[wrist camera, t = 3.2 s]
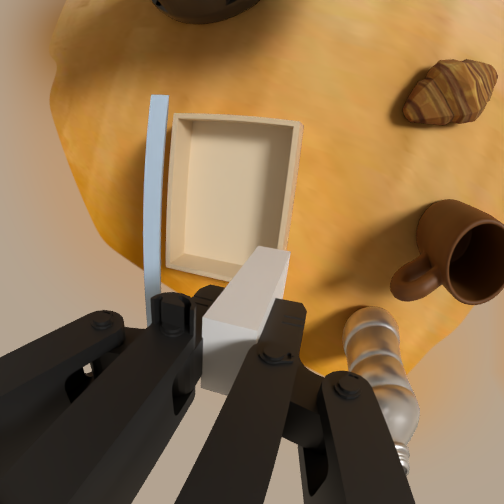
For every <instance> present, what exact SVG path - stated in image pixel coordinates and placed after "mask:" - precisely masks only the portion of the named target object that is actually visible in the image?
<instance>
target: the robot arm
mask: <svg viewBox="0 0 504 504" xmlns="http://www.w3.org/2000/svg"><path fill="white" fill-rule="evenodd" d="M258 1H260V0H152V2H153V3H154V5H155V6H156V7H157V8H158V9H159V10H160V11H162V12H163V13H165V14H166V15H168V16H169V17H171V18H172V19H174V20H177V21H180V22H183V23H189V24H205V23H212V22H217V21H221V20H224V19H227V18H230V17H233V16H235V15H237V14H239V13H242V12H243V11H245V10H247V9H249V8H250V7H252V6H253V5H255V4H256V3H257V2H258ZM290 253H291V252H290V251H284V250H279V249H274V248H269V247H263V246H258V247H257V248H256V249H255V251H254V252H253V253H252V254H251V256H250V257H249V258H248V260H247V261H246V262H245V263H244V265H243V266H242V267H241V269H240V270H239V271H238V272H237V274H236V275H235V276H234V277H233V279H232V280H231V281H230V283H229V284H228V285H227V286H226V288H223V287H219V286H215V285H208V286H206V287H203V288H201V289H199V290H198V291H197V293H196V294H195V295H194V297H192V298H191V297H190V296H187V295H185V294H182V293H175V292H167V293H161V294H157V295H155V296H153V297H151V298H150V301H151V319H152V323H151V324H150V325H149V326H148V327H147V328H146V329H138V328H129V327H124V321H123V317H122V316H121V315H120V314H118V313H116V312H113V311H107V310H102V311H95V312H92V313H90V314H87V315H85V316H83V317H81V318H79V319H77V320H75V321H73V322H71V323H69V324H67V325H65V326H63V327H61V328H59V329H57V330H55V331H53V332H51V333H49V334H46V335H44V336H42V337H41V338H38V339H36V340H34V341H32V342H30V343H28V344H26V345H24V346H22V347H20V348H18V349H16V350H14V351H12V352H10V353H8V354H6V355H4V356H2V357H0V504H131V503H132V501H133V500H134V498H135V497H136V495H137V493H138V492H139V490H140V488H141V487H142V485H143V484H144V482H145V480H146V479H147V477H148V475H149V474H150V472H151V470H152V469H153V467H154V466H155V464H156V462H157V461H158V459H159V457H160V455H161V454H162V452H163V451H164V449H165V447H166V446H167V444H168V442H169V441H170V439H171V437H172V435H173V434H174V432H175V430H176V429H177V427H178V425H179V424H180V422H181V420H182V418H183V417H184V415H185V413H186V412H187V410H188V408H189V407H190V405H191V403H192V401H193V400H194V397H195V385H196V384H197V382H198V380H199V379H200V377H201V388H203V389H207V390H210V391H213V392H217V393H221V394H224V395H227V398H226V400H225V403H224V405H223V407H222V409H221V411H220V413H219V415H218V417H217V419H216V421H215V424H214V426H213V428H212V430H211V432H210V434H209V436H208V438H207V440H206V442H205V444H204V446H203V448H202V450H201V452H200V454H199V456H198V458H197V460H196V462H195V464H194V466H193V468H192V470H191V472H190V474H189V476H188V478H187V480H186V482H185V484H184V486H183V488H182V490H181V491H180V494H179V496H178V497H177V499H176V501H175V503H174V504H263V502H264V499H265V496H266V492H267V489H268V485H269V482H270V479H271V475H272V471H273V468H274V464H275V460H276V456H277V453H278V449H279V445H280V441H281V437H283V438H285V439H287V440H289V441H291V442H294V443H296V444H298V453H299V462H300V471H301V480H302V489H303V499H304V504H415V501H414V498H413V495H412V492H411V489H410V486H409V483H408V480H407V477H406V474H405V472H404V469H403V466H402V463H401V460H400V458H399V455H398V452H397V449H396V447H395V444H394V441H393V439H392V436H391V434H390V431H389V428H388V426H387V423H386V421H385V418H384V415H383V413H382V410H381V408H380V405H379V403H378V401H377V398H376V396H375V393H374V391H373V388H372V386H371V385H370V384H369V382H368V381H367V380H366V379H365V378H363V377H362V376H360V375H358V374H356V373H353V372H348V371H336V372H332V373H330V374H328V375H326V376H325V378H324V377H322V376H319V375H317V374H315V373H313V372H311V371H310V370H308V369H307V368H306V367H305V366H304V365H303V364H302V362H301V360H300V358H299V351H300V346H301V341H302V335H303V330H304V324H305V319H306V313H307V311H306V309H305V307H304V305H303V304H302V303H298V302H293V301H288V300H283V293H284V288H285V282H286V276H287V271H288V265H289V259H290ZM88 363H90V365H91V368H92V372H90V373H87V374H86V373H84V370H83V367H84V366H85V365H87V364H88Z"/></svg>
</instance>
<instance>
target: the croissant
mask: <svg viewBox="0 0 504 504" xmlns="http://www.w3.org/2000/svg"><path fill="white" fill-rule="evenodd" d="M497 78H498V75H497V72H496V70H495V69H494V68H493V66H491V65H489V64H486V63H482V62H477V61H472V60H467V59H466V60H464V61H458V60H440V61H439V62H438V63H437V64H435V65H434V66H433V67H432V68H431V69H430V70H429V72H428V74H427V76H426V78H425V79H423V80H421V81H419V82H418V83H417V84H416V86H415V88H414V89H413V91H412V92H411V94H410V95H409V97H408V99H407V101H406V103H405V105H404V107H403V109H402V111H403V113H404V116H405V117H406V118H407V120H408V121H409V122H414V123H425V124H438V125H445V124H447V123H449V122H454V123H459V124H462V123H467V122H472V121H475V120H476V119H477V118H478V117H479V116H480V114H481V113H482V112H483V110H484V108H485V106H486V104H487V102H488V101H489V100H490V98H491V95H492V92H493V88H494V86H495V84H496V82H497Z"/></svg>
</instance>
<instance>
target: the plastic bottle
mask: <svg viewBox="0 0 504 504" xmlns="http://www.w3.org/2000/svg"><path fill="white" fill-rule="evenodd" d="M342 343H343V348H344V351H345V355H346V357H347V363H348V370H349V372H353V373H356V374H358V375H360V376H362V377H363V378H365V379H366V380H367V381H368V382H369V384H370V385H371V386H372V388H373V391H374V393H375V396H376V398H377V401H378V403H379V405H380V408H381V410H382V413H383V415H384V418H385V421H386V423H387V426H388V428H389V431H390V434H391V436H392V439H393V441H394V444H395V447H396V449H397V452H398V455H399V458H400V460H401V463H402V466H403V469H404V472H405V474H406V476H407V475H408V473H409V448H408V447H407V446H406V445H407V444H408V442H409V441H410V439H411V437H412V436H413V434H414V432H415V430H416V428H417V425H418V421H419V414H420V408H419V405H418V402H417V399H416V396H415V395H414V392H413V390H412V388H411V386H410V383H409V381H408V379H407V376H406V373H405V370H404V368H403V364H402V361H401V355H400V347H399V343H400V336H399V328H398V325H397V323H396V321H395V320H394V318H393V317H392V315H391V314H390V313H389V312H388V311H386V310H385V309H383V308H380V307H373V306H372V307H365V308H362V309H360V310H358V311H356V312H355V313H353V314H352V315H351V316H350V317H349V318H348V320H347V322H346V324H345V326H344V330H343V335H342Z"/></svg>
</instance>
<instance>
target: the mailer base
mask: <svg viewBox="0 0 504 504" xmlns="http://www.w3.org/2000/svg"><path fill="white" fill-rule="evenodd" d="M303 129H304V126H303V124H302V123H301V122H299V121H292V120H283V119H274V118H264V117H253V116H240V115H223V114H195V113H174V116H173V126H172V137H171V148H170V161H169V176H168V194H167V220H166V267H167V268H172V269H176V270H180V271H184V272H189V273H193V274H197V275H202V276H206V277H210V278H215V279H219V280H224V281H228V282H230V281H231V280H232V279H233V277H234V276H235V275H236V274H237V272H238V271H239V270H240V269H241V267H242V266H243V265H244V263H245V262H246V261H247V260H248V258H249V257H250V256H251V254H252V253H253V252H254V251H255V249H256V248H257V247H258V246H263V247H269V248H274V249H279V250H284V251H286V249H287V243H288V237H289V230H290V223H291V217H292V210H293V203H294V196H295V189H296V182H297V175H298V167H299V160H300V152H301V145H302V137H303Z"/></svg>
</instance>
